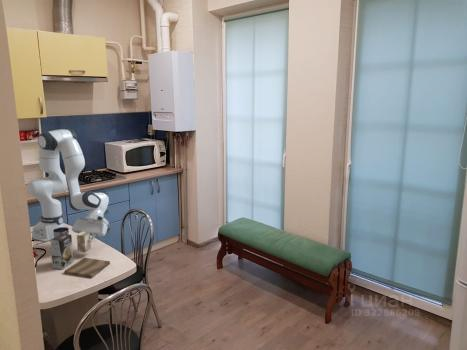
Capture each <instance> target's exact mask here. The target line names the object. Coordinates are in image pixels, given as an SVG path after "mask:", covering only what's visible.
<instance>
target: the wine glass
mask: <svg viewBox="0 0 467 350" xmlns="http://www.w3.org/2000/svg"><path fill="white" fill-rule="evenodd" d="M69 229H70V228H69V227H67V226H66V227H65V226H64V227H59V228H56V229H54V230H53V234H54V238H55V237H57V236H58V235H60V234H70V230H69Z"/></svg>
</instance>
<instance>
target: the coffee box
mask: <svg viewBox="0 0 467 350" xmlns="http://www.w3.org/2000/svg"><path fill="white" fill-rule="evenodd" d="M72 237H73V236H72V234H71V233H69V234H60V235H58V236H57V237H55V238H53V239H51V240H50V247H51V261H52V269H53V268H54V269H59V270H64V269H65V268H67V267H68V266H69V265H71V264H73V263H74V251H73V249H74V248H73V240H72V239H73V238H72Z"/></svg>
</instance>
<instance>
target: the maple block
mask: <svg viewBox="0 0 467 350" xmlns="http://www.w3.org/2000/svg"><path fill="white" fill-rule="evenodd" d="M89 238H91V235H90V233H89V232H81V233H79V234H78V233H76V243H77V252H81V253H88V252H89V251H90V250H92V242H88V239H89Z"/></svg>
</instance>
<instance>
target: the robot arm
mask: <svg viewBox="0 0 467 350" xmlns="http://www.w3.org/2000/svg"><path fill="white" fill-rule="evenodd" d="M37 144H38V146H39V150H38V161H39V162H38V164H39V169H40V170H41V171H42V172H44V173H48V176H46V177H39V178H35V179H32V180H30V181H29V182H28V183H27V186H26V191H27V193H28V195H30V197H33V198H35V199H37V201H38V202H39V204H40V206H41V212H42V215H41V216H39V217H38V219H39V220H40V221H39V222H37V223H36V224H35V225H33V227H32V232H31V233H32V238H31V239H34V240H37V241H41V242H49V241H51V239H53V238H54V234H53V230H54V229H56V228H59V227H65V224H64V214H63V209H62V203H61V201H60V200H58V199H56V198H53V197H52V195H54V194H60V193H63V192H65V191H68V204H69V207H70V208H71V210H73V211H75V212H81V211H82V210H86V209H87V210H88V212H87V214H86V216H85V217H82V216H81V217H79V218H77V219H75V220H76V221H75V222H74V223H73V225H72V227H71V231H72V232H73V233H75V234H79V233H81V232H89V233H90V238H89V239H88V242H91V243H92V241H93V240H94V239H95V238H96V237H97V236H98V237H99V236H100V237H104V236H106V234H107V231H108V225H109V224H110V223H109V221H108V220H107V219H106V218H105V217H104V214H105V212H106V211H107V209H108V205H109V203H110V199H109V198H110V197H109V196H108V195H107V194H106V193H104V192H93V191H91V190H87V191H84V192H81V188H80V184H79V176H80V173H81V172H82V171H83V170H84V168H85V166H86V161H85V156H84V153H83V149H82V148H81V146H80V144H79V142H78V135H77V133H76V132H75V130H73V129H71V128H70V129H69V128H65V129H64V128H63V129H55V130H50V131H44V132H41V133H39V134H38V137H37ZM60 153H61V158H62V160H63V165H64V171H65V172H64V173H63V171H62V169H61V166H60V164H61V163H60V162H61V161H60Z"/></svg>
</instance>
